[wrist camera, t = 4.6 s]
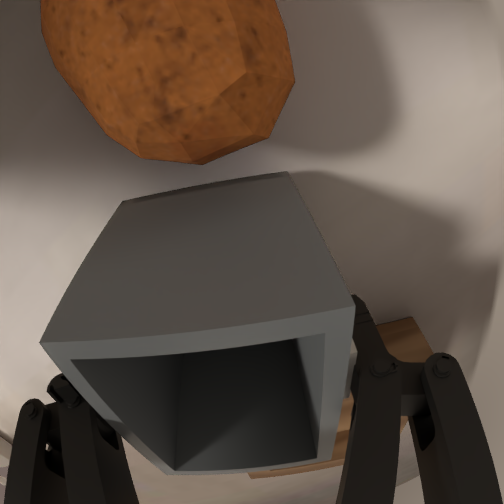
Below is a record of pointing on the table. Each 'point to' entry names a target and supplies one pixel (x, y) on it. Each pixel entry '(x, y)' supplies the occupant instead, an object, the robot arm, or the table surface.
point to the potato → (174, 71)
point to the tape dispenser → (4, 456)
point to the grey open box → (211, 328)
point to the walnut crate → (397, 344)
